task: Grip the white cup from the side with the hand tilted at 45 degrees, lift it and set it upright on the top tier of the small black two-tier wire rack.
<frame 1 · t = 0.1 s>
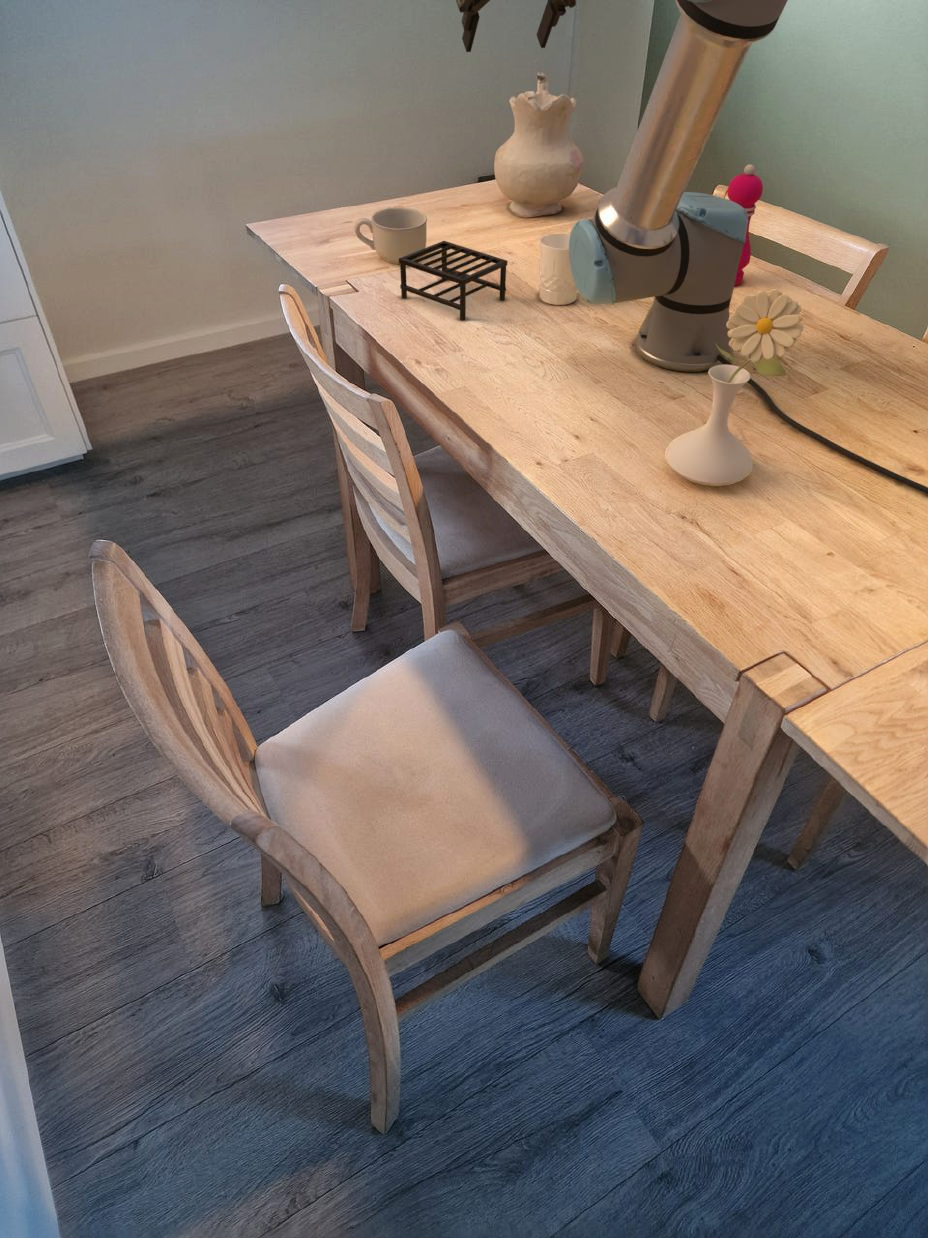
hand: (503, 43, 141), 36 cm above the table, tool tilted 35°, fingers open, 13 cm apart
ceramic pitcher: (534, 207, 189), on the table
pepper mill: (724, 281, 159), on the table
flower in vase: (711, 473, 111), on the table
white cup: (557, 298, 152), on the table
teacup: (393, 259, 166), on the table
wire rack: (453, 298, 152), on the table
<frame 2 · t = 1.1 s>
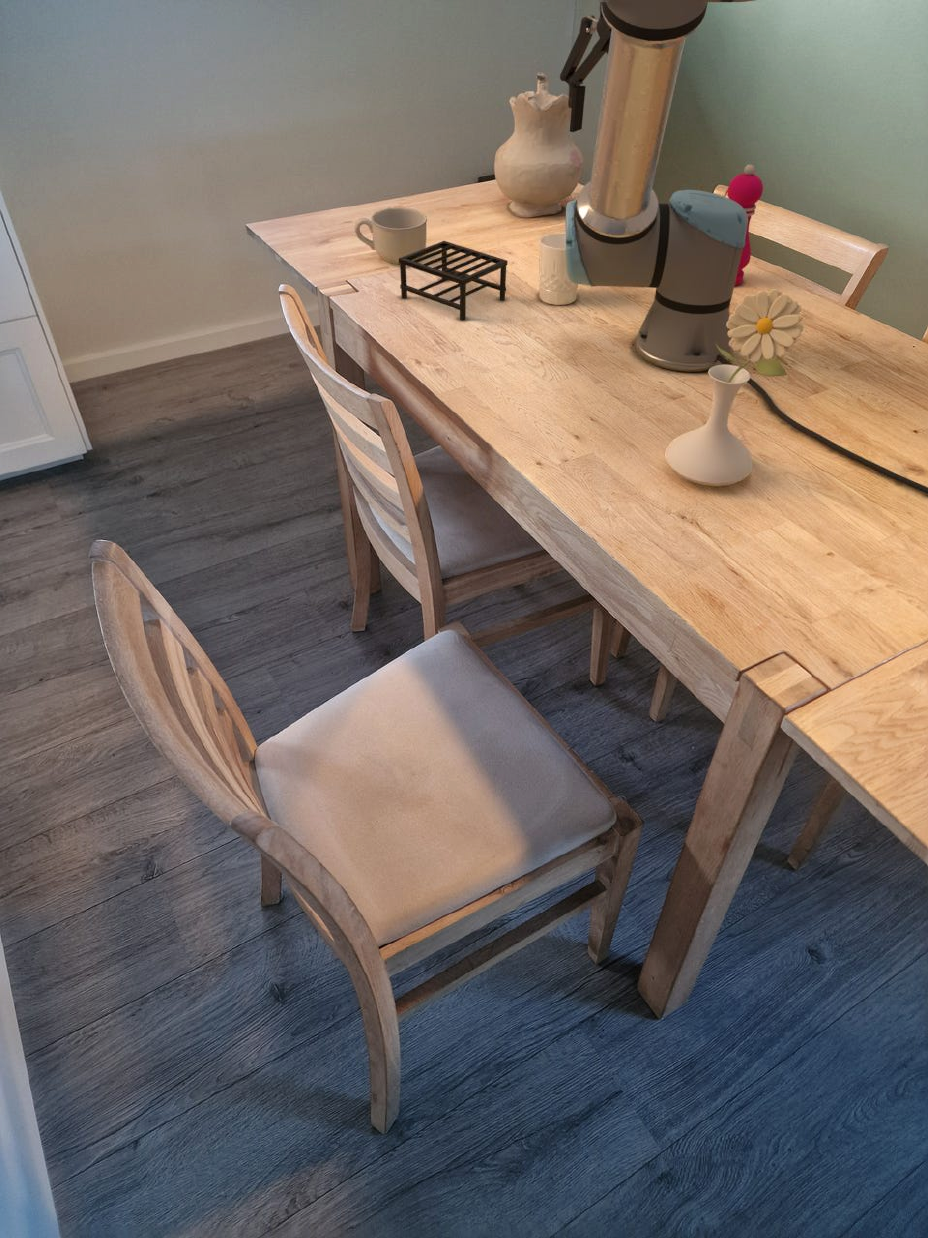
hand: (609, 137, 143), 24 cm above the table, tool pointing down, fingers open, 13 cm apart
nothing on the table moved.
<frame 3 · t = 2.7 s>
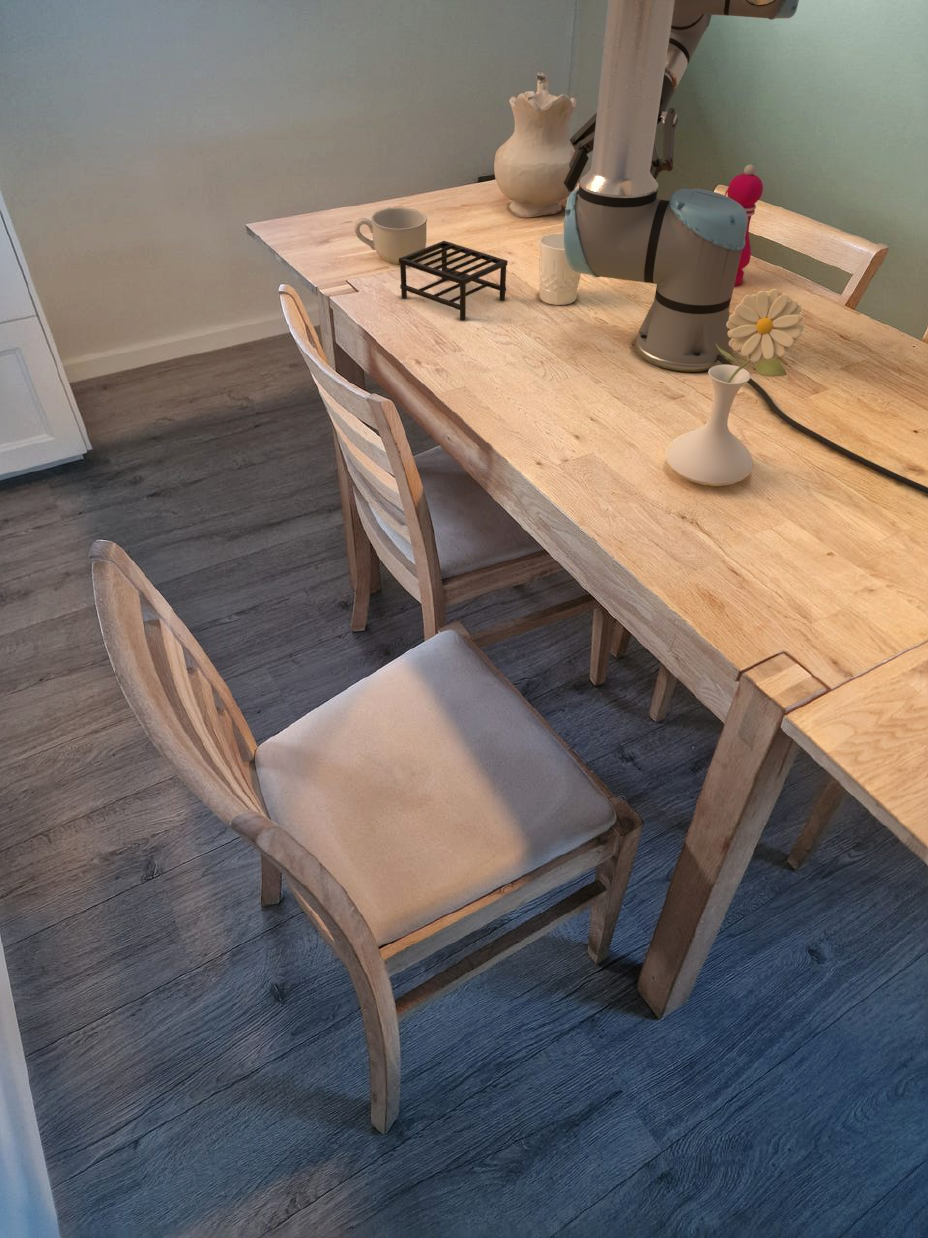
hand: (599, 195, 148), 15 cm above the table, tool tilted 45°, fingers open, 13 cm apart
nothing on the table moved.
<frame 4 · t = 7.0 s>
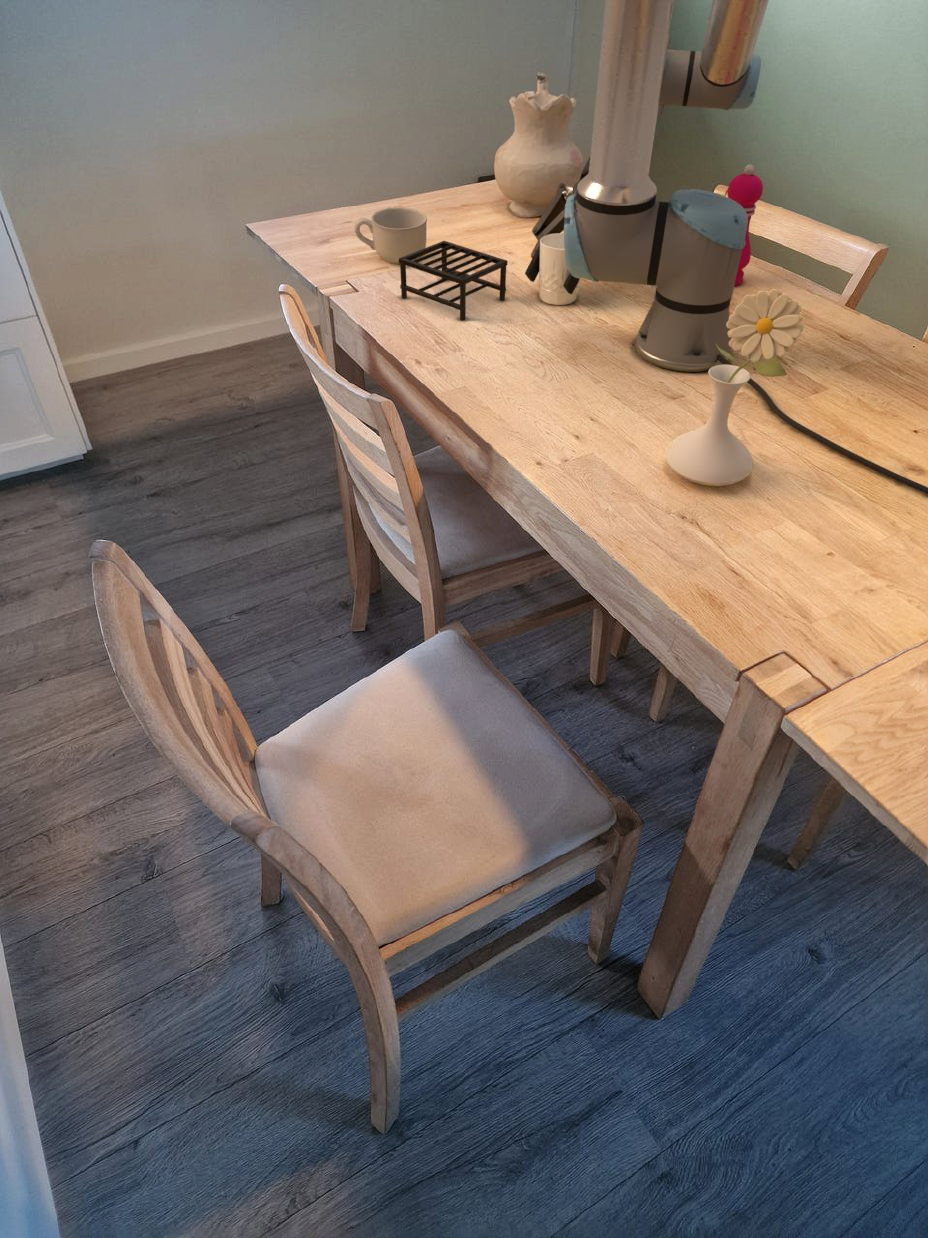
hand: (548, 283, 148), 4 cm above the table, tool tilted 45°, fingers closed on white cup, 8 cm apart
white cup: (557, 298, 152), on the table, touching gripper
everything else where it was.
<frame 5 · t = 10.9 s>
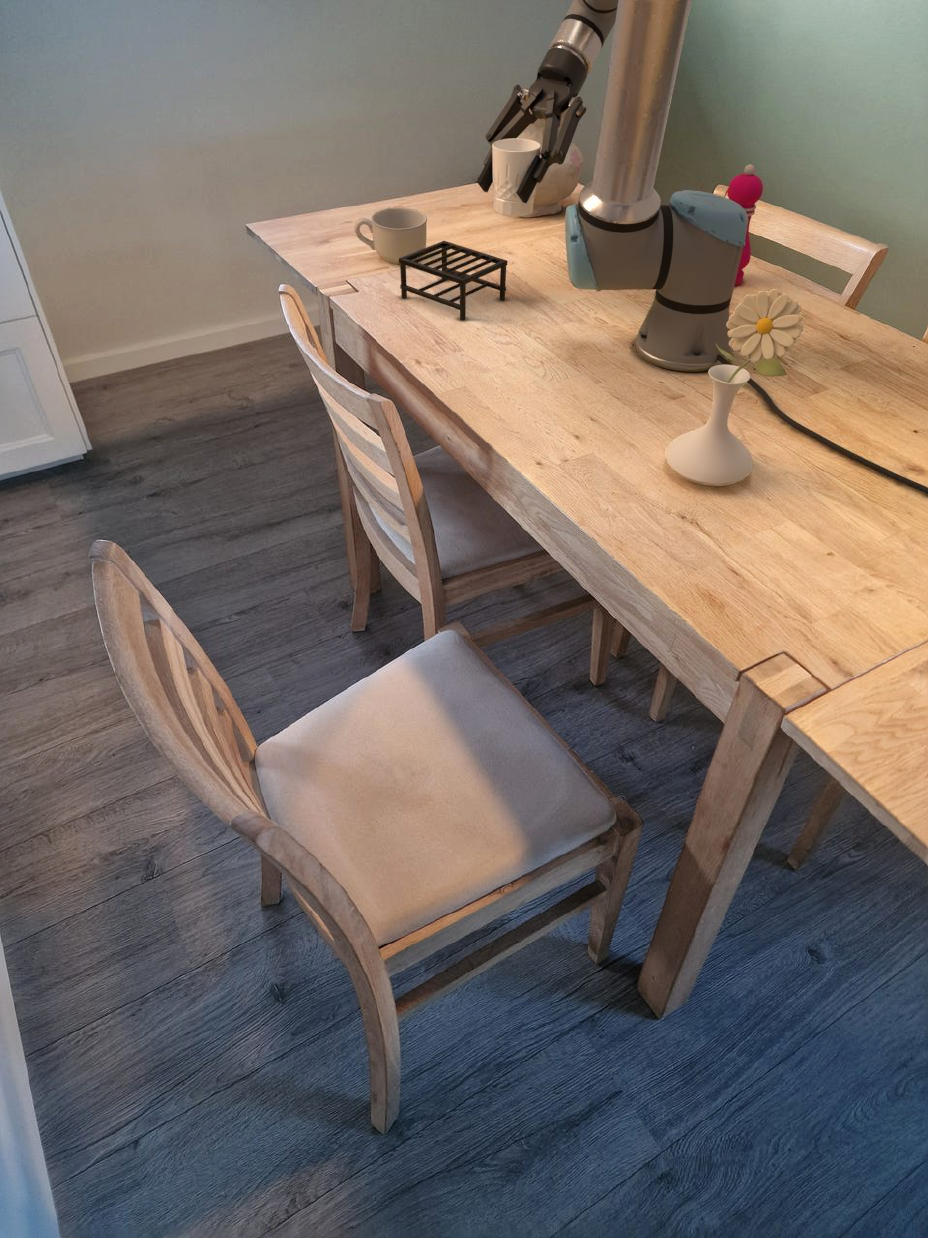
hand: (501, 192, 137), 19 cm above the table, tool tilted 45°, fingers closed on white cup, 8 cm apart
white cup: (513, 211, 142), point 15 cm above the table, touching gripper
everything else where it was.
when the fingers open (11 cm above the table, at t = 15.2 s): white cup stays where it is, resting on wire rack.
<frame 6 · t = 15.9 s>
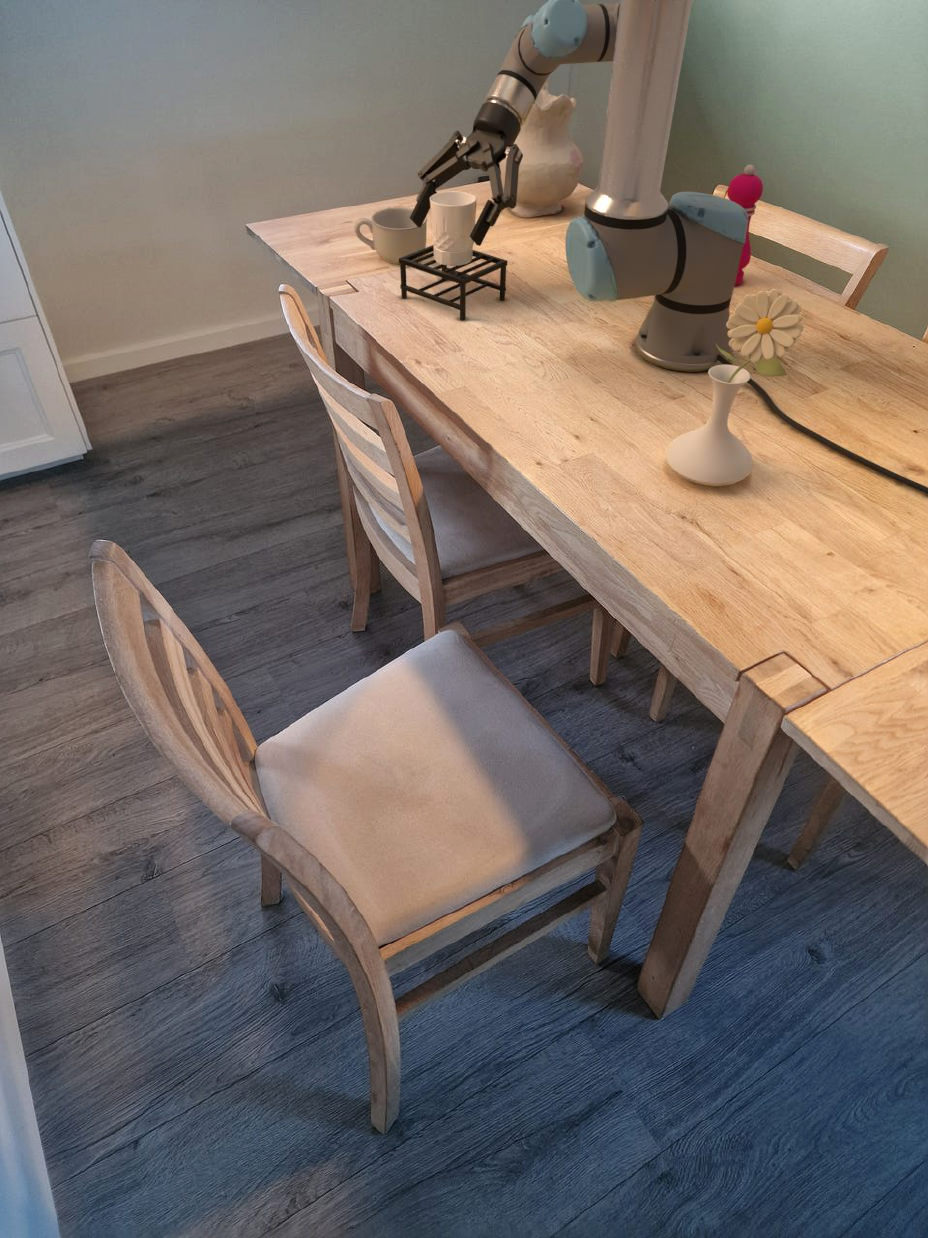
hand: (444, 231, 142), 12 cm above the table, tool tilted 45°, fingers open, 13 cm apart
white cup: (453, 260, 147), point 7 cm above the table, touching wire rack
everything else where it was.
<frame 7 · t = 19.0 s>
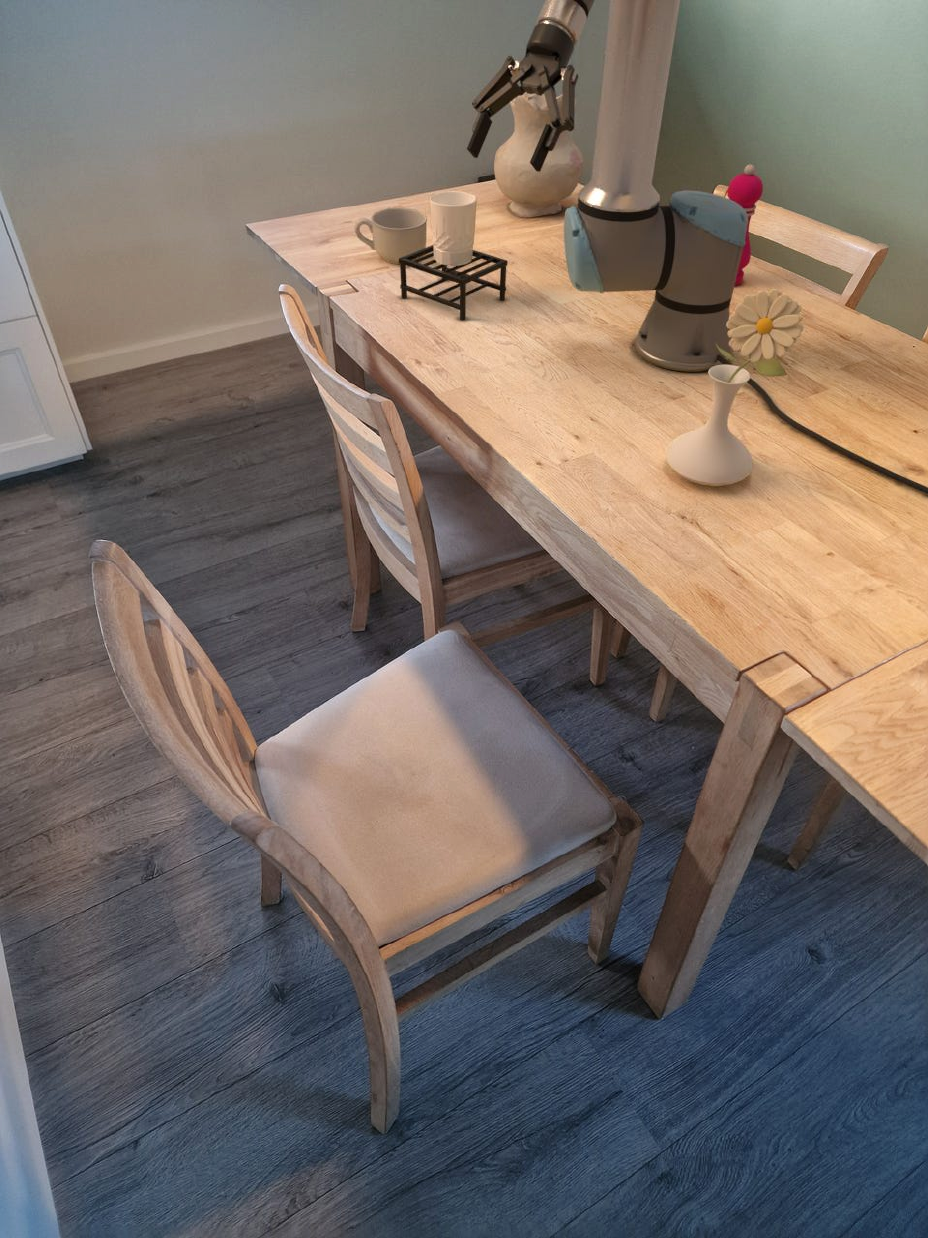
hand: (502, 160, 143), 21 cm above the table, tool tilted 40°, fingers open, 13 cm apart
nothing on the table moved.
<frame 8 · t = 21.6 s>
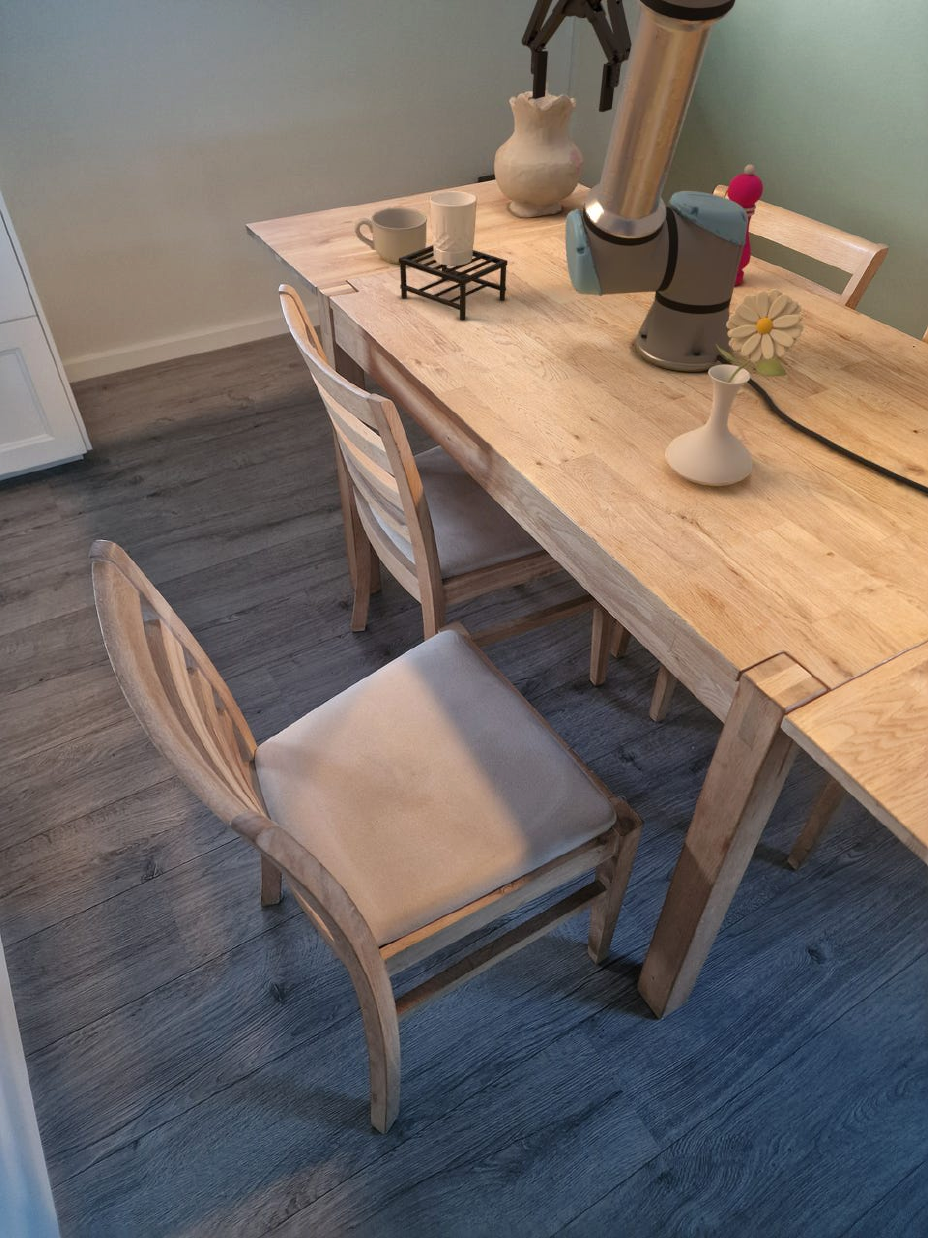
hand: (571, 103, 140), 29 cm above the table, tool pointing down, fingers open, 13 cm apart
nothing on the table moved.
at the end: white cup inside the target area on the wire rack (0.1 cm from its centre), point 6.8 cm above the wire rack's base; white cup tilted 0°; the gripper is holding nothing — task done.
